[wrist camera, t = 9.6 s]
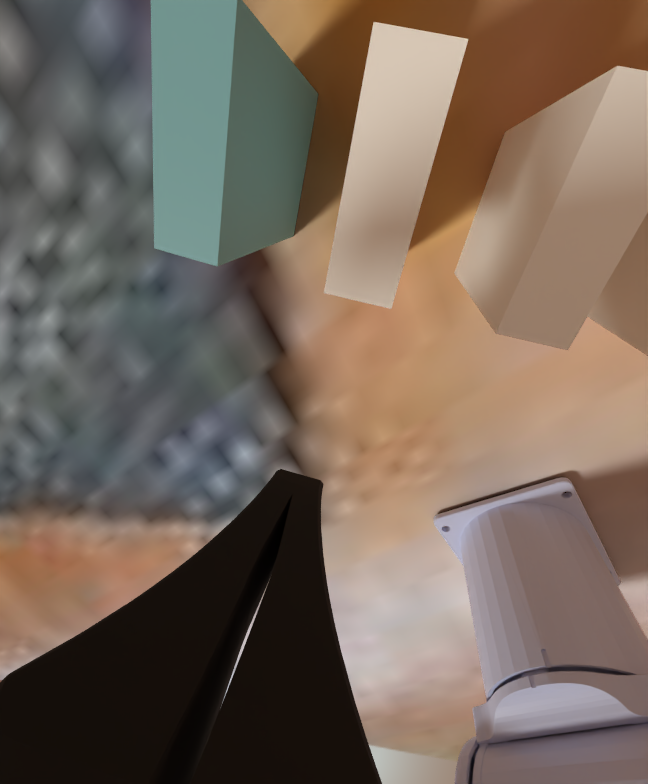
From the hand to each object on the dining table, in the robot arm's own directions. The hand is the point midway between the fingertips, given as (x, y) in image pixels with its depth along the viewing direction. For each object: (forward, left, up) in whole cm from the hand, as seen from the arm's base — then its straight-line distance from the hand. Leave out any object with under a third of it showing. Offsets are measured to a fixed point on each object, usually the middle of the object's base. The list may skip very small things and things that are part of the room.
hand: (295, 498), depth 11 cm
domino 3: (+2, -9, -10) cm, 14 cm away
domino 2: (+6, -6, -10) cm, 13 cm away
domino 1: (+9, -3, -10) cm, 14 cm away
